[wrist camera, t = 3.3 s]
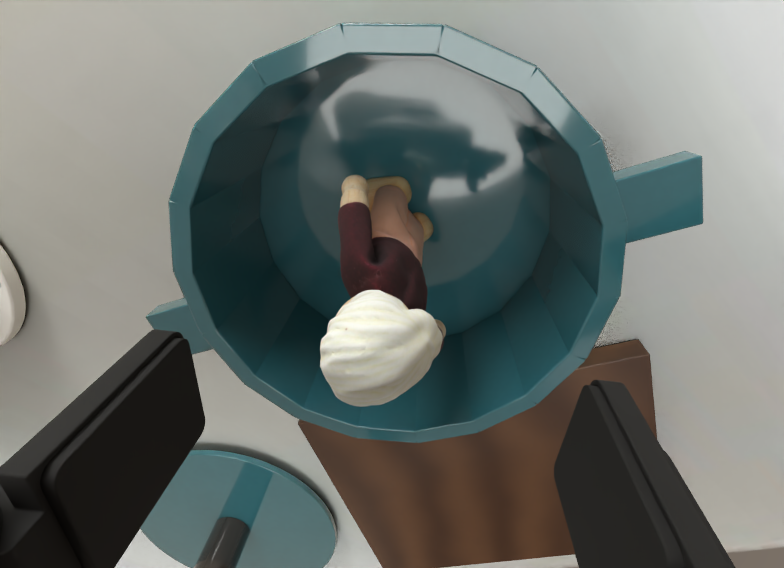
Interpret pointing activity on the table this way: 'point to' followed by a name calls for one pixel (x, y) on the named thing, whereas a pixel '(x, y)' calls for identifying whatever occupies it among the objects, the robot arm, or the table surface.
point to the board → (474, 477)
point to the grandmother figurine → (380, 296)
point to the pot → (429, 196)
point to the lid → (240, 516)
